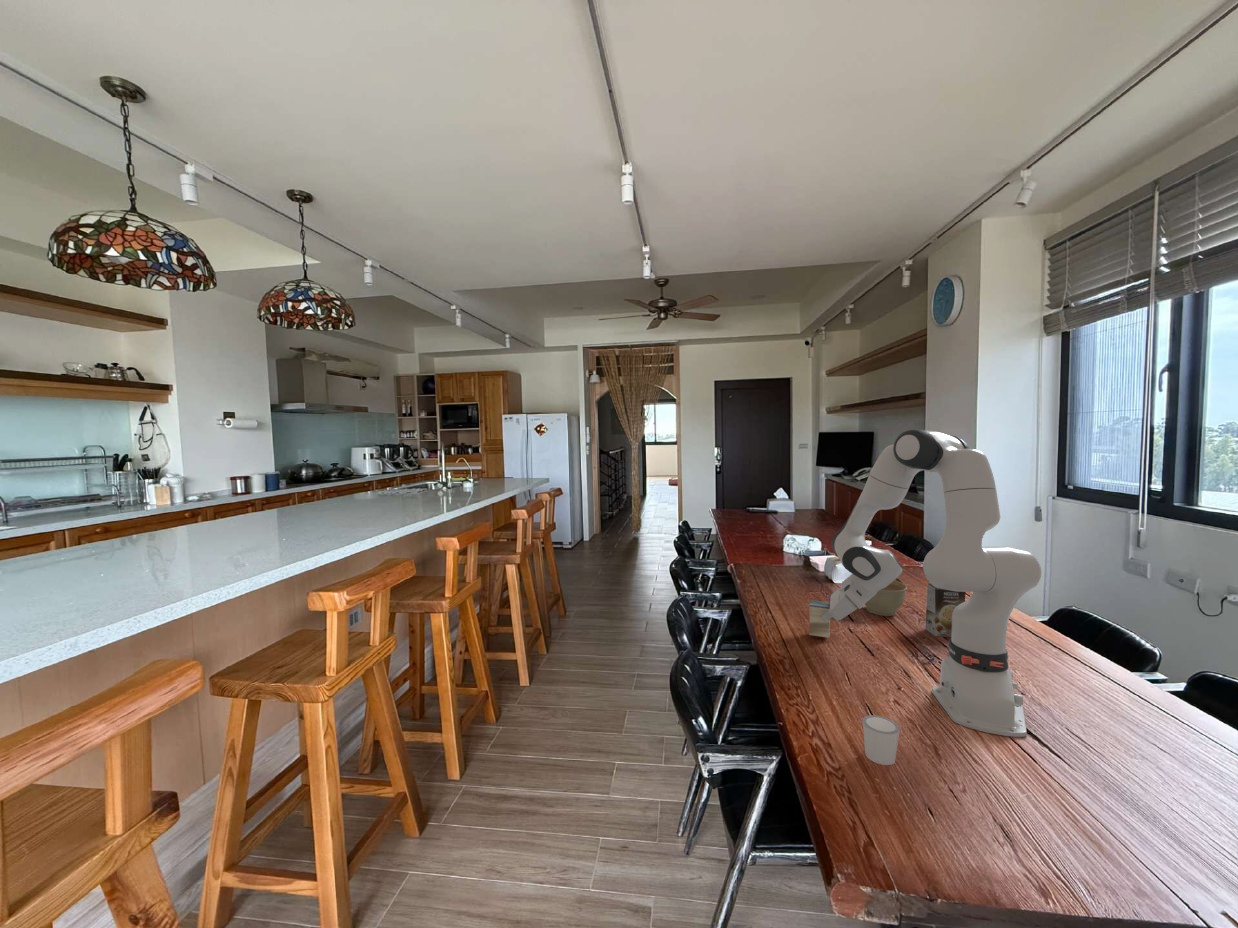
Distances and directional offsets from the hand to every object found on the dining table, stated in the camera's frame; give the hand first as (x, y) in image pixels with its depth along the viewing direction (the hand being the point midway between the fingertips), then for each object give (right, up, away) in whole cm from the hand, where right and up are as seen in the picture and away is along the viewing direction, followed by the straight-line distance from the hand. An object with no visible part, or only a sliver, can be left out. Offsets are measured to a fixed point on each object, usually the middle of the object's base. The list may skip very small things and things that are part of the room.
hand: (822, 616), depth 163 cm
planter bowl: (+32, -6, +24) cm, 40 cm away
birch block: (-1, -6, +1) cm, 6 cm away
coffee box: (+42, -7, +3) cm, 43 cm away
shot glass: (-12, -11, -59) cm, 62 cm away
